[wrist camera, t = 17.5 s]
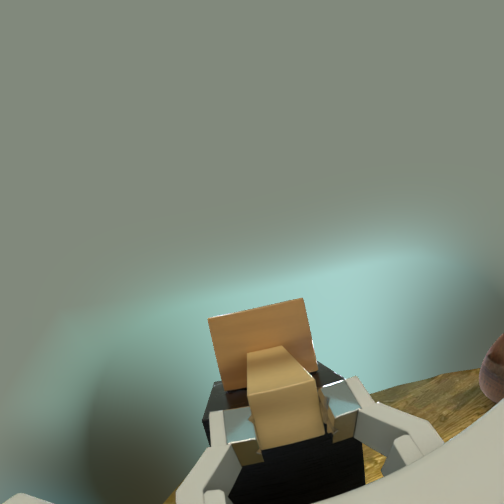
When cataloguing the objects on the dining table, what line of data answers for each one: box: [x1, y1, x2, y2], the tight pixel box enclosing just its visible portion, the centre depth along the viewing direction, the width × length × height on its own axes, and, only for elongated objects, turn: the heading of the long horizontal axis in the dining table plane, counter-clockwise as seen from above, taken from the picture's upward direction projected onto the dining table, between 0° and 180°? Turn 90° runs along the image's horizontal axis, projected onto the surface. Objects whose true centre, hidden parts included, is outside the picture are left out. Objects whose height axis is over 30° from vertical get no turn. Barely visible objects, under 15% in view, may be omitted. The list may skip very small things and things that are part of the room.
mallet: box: [208, 298, 325, 450], centre depth 17 cm, size 15×7×6 cm, turn 1°
